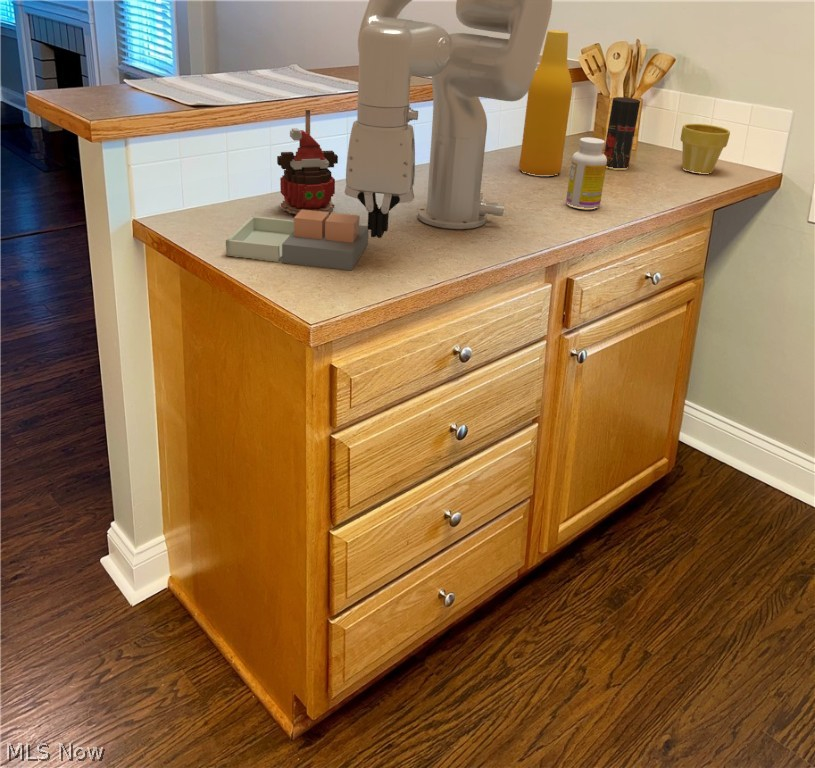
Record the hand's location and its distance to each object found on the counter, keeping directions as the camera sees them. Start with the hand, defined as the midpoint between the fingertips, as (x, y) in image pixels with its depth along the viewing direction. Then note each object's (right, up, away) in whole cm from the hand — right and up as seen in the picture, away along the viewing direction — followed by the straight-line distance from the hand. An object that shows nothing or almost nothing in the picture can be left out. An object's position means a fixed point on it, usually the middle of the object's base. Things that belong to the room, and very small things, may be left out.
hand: (377, 234), depth 137 cm
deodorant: (+52, +26, +63) cm, 86 cm away
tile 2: (-6, 0, +1) cm, 6 cm away
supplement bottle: (+39, +11, +34) cm, 53 cm away
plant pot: (+72, +26, +64) cm, 100 cm away
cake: (-14, +8, +22) cm, 27 cm away
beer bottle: (+34, +23, +55) cm, 69 cm away
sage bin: (-18, -1, +4) cm, 19 cm away
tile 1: (-11, +1, +2) cm, 11 cm away
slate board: (-8, -2, +3) cm, 9 cm away
